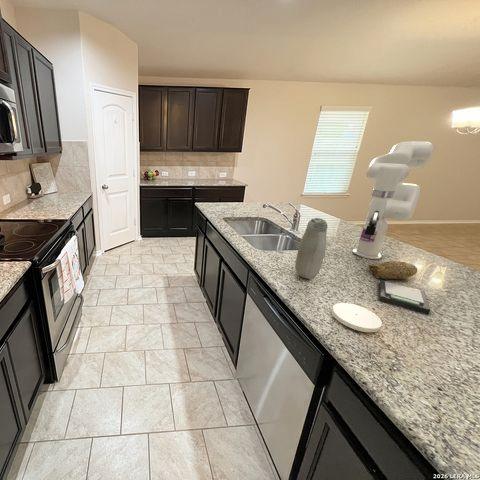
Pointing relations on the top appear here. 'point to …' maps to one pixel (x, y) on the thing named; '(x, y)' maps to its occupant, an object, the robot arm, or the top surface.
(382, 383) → the top surface
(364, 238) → the pill bottle
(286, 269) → the top surface
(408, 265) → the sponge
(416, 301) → the scale
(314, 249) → the gray vase
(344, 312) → the plastic lid
